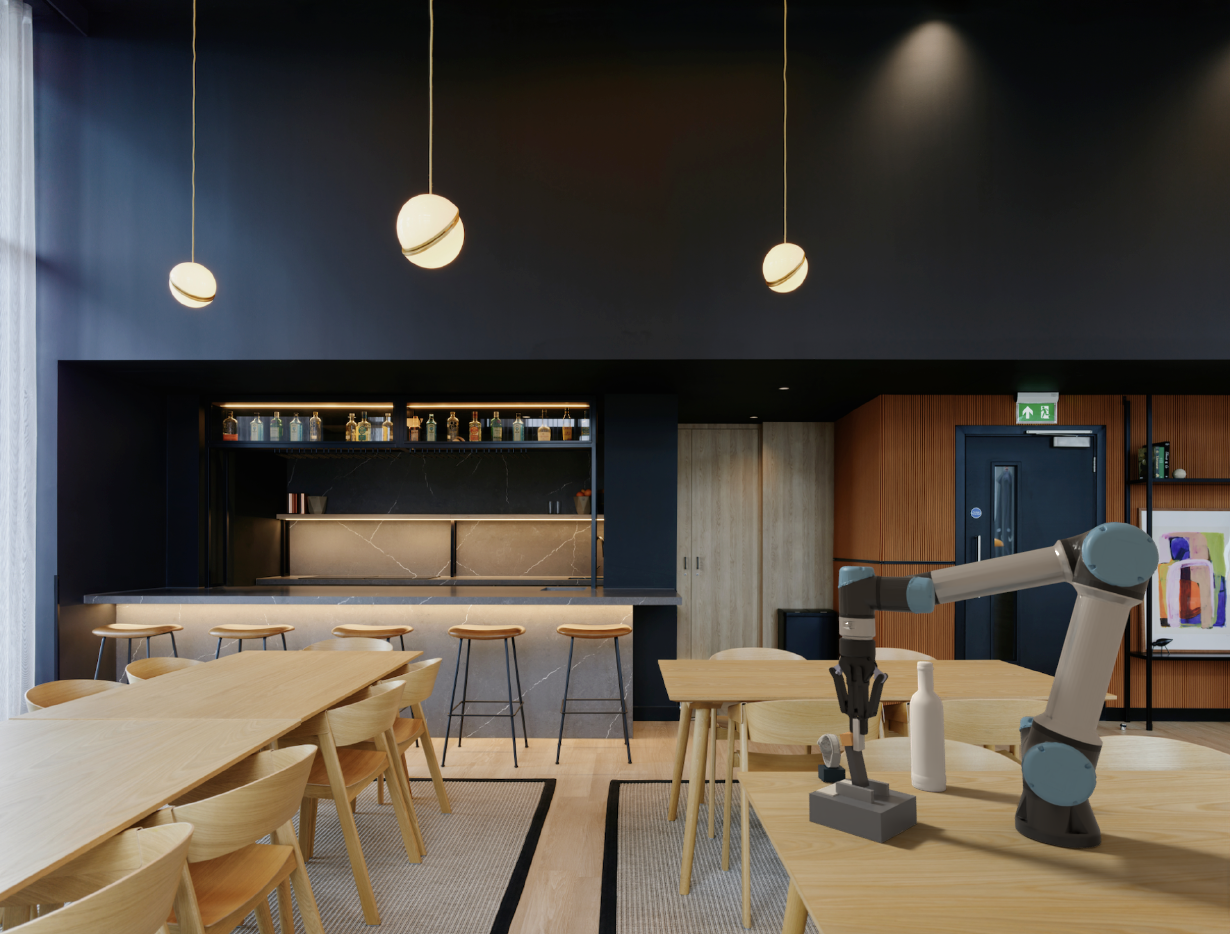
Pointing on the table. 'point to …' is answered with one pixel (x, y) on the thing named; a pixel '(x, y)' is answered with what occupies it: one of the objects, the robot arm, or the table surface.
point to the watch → (830, 759)
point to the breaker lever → (854, 761)
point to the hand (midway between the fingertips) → (859, 749)
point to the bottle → (927, 734)
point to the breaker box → (863, 809)
